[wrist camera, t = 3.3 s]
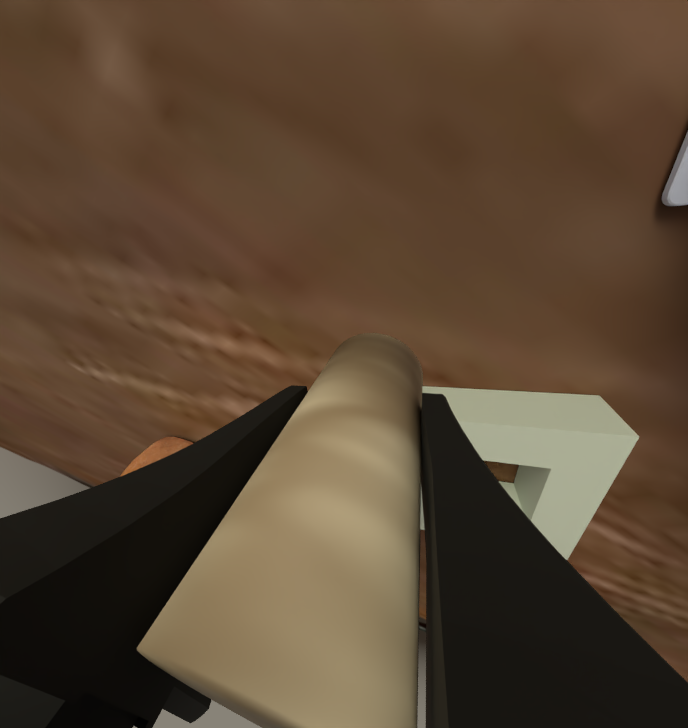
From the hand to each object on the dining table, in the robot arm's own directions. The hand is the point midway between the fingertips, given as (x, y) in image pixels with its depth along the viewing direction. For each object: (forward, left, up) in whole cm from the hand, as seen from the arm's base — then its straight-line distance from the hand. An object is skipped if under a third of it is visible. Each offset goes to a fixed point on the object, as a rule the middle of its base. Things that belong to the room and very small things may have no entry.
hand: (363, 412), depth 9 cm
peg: (0, 0, -2) cm, 2 cm away
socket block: (-6, +11, -9) cm, 16 cm away
